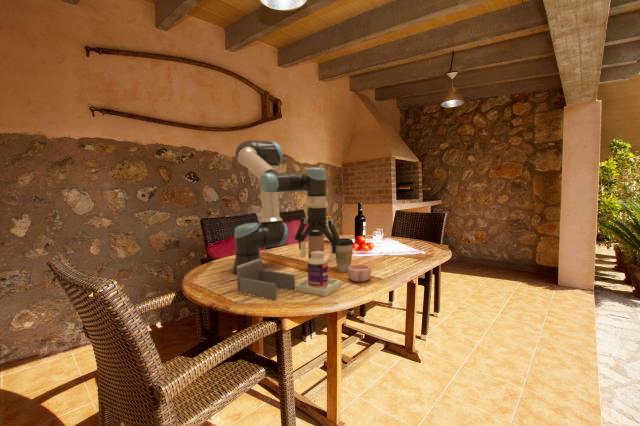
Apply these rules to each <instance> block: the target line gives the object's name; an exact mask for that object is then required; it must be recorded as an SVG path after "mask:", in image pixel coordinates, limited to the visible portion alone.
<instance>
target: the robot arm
mask: <svg viewBox="0 0 640 426" xmlns="http://www.w3.org/2000/svg"><path fill="white" fill-rule="evenodd" d="M283 153H284V152H283V150H282V147H281V145H280V144H279V143H278V142H275V141H271V140H254V139H252V140H251V139H250V140H249V139H248V140H245V141H242V142H240V143H239V144H238V145H237V147H236V149H235V151H234V155H235V159H236V161H237V162H238V163H239V164H240V165H241V166H242V167H245V168H247V169H248V170H249V171H250V172H251V173H252V174H253V175H254V176H255V177H256V178H257V179H259V186H260V195H261V208H262V209H261V211H262V219H261V220H260V222H259V223H258V222H251V223H250V222H247V223H244V224H241V225H237V226H236V227H235V228H234V249H235V250H234V251H235V258H234V262H233V266H232V274H234V275H237V266H239V265H242V264H245V263H247V262H250V261H253V260H256V259H259V258H260V259H262V257H261V253H260V249H264V248H265V249H267V248H272V247H279V246H283V245H284V244H285V243H286V241H287V240H288V237H289V228H288V226H287V224H286V223H285V222H284V220H283V219H282V217H281V216H280V203H279V193H283V192H284V193H285V192H287V193H289V192H290V193H291V192H307V194H306V196H307V199H306V200H307V202H306V203H307V206H308V207H307V217H301V218H300V224H299V227H298V229H297V231H296V233H295V235H294V240H295V241H298V248H299V249H298V250H300V258H301V259H303V258H305V257H306V256H307V255H306V254H307V253H306V252H307V251H306V250H307V248H306V246H307V245H306V241H305V239H306V238H307V237H308V234H309V233H310V231H311V230H318V231H320V230H321V231H322V232H323V233H324V236H325V237H326V239H327V240H328V241H329V243H330V244H331V245H329V262H330V263H332V262H336V261H335V260H336V256H335V253H336V252H337V245H338V244H340V243H341V240H340V238H341V237H340V236H339V233H338V231H337V229H336V227H335V226H336V225H335V221H334V219H328V220H327V207H326V206H327V170H326V168H325V167H309V168H307V170H306V172H279V171H278V169H279V168H280V165H282V162H283V159H284V155H283ZM306 224H308V225H307V227H306ZM327 226H328V227H327ZM305 228H306V229H305ZM262 270H265V266H264V263H263V262H262Z"/></svg>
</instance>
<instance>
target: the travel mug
mask: <svg viewBox="0 0 640 426" xmlns="http://www.w3.org/2000/svg"><path fill="white" fill-rule="evenodd" d="M324 236H325V235H324V233H323V232H322V231H321V230H320V231H318V230H311V231H310V233H309V234H308V235H307V237H308V239H307V241H308V242H307V243H308V247H307V248H308V259H309V258H311V252H313V251H322V252H324V253H325V242H324V241H325V240H324Z"/></svg>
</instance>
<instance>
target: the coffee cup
mask: <svg viewBox="0 0 640 426" xmlns="http://www.w3.org/2000/svg"><path fill="white" fill-rule="evenodd" d="M339 238H340V240H341V243H340V244H338V245H337V252H336V253H335V260H336V261H335V262H336V265H337V267H336V270H337V271H338V272H341V273H342V272H346V273H348V267H349V266H350V265H352V259H353V258H352V257H353V245H354V242H353V239H351V238H345V237H343V238H342V237H339Z"/></svg>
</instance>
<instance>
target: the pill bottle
mask: <svg viewBox="0 0 640 426" xmlns="http://www.w3.org/2000/svg"><path fill="white" fill-rule="evenodd" d="M328 267H329V265H328V259H327V258H326V257H325V251H324V252H322V251H313V252H311V258H309V257H308V259H307V279H308V286H309V287H313V288H318V289H325V288H326V287H327V286H328V278H329V277H328V276H329V274H328V273H329V272H328V271H329V269H328Z"/></svg>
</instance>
